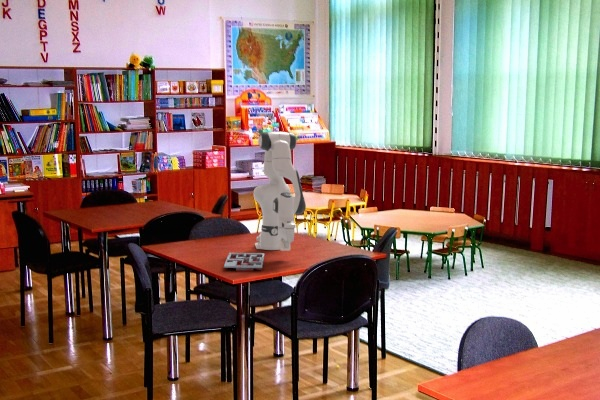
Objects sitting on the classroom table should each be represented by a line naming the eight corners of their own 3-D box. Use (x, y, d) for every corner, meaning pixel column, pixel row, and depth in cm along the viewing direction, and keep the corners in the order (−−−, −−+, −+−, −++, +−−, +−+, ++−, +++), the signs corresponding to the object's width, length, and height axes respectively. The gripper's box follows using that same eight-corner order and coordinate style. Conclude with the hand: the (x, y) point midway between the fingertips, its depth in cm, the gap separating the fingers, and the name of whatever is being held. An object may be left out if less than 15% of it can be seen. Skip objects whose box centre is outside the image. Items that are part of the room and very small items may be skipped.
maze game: (229, 258, 405) (229, 252, 405) (264, 258, 406) (264, 253, 405) (223, 272, 371) (223, 265, 370) (261, 272, 371) (262, 266, 371)
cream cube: (279, 248, 402) (279, 240, 401) (287, 248, 404) (288, 239, 403) (281, 250, 397) (281, 241, 397) (290, 250, 399) (290, 241, 398)
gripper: (275, 219, 407) (274, 243, 409) (285, 225, 388) (284, 250, 390) (285, 218, 409) (285, 242, 411) (296, 225, 390) (295, 250, 392)
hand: (284, 246), depth 400 cm, fingers closed on cream cube, 5 cm apart
